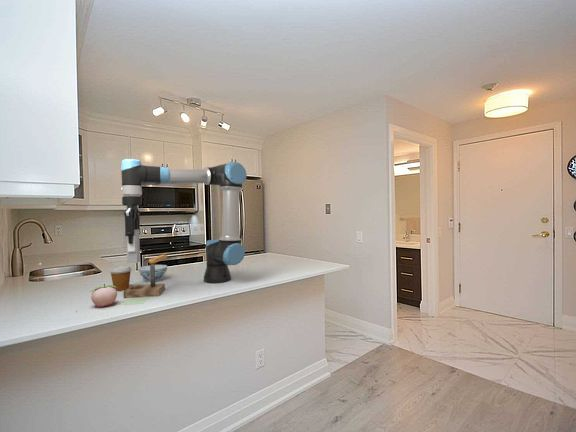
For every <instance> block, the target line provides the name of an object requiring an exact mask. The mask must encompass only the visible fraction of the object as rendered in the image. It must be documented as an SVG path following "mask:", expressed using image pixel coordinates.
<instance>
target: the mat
mask: <svg viewBox="0 0 576 432" xmlns="http://www.w3.org/2000/svg"><path fill="white" fill-rule="evenodd" d="M147 300H149V297H138V298H126V300H124V301H123V302H122V303H121V304H120V306H129V305H130V306H131V305H142V304H143V305H144V303H146V301H147Z"/></svg>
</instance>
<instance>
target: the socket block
mask: <svg viewBox="0 0 576 432" xmlns="http://www.w3.org/2000/svg"><path fill="white" fill-rule="evenodd" d="M149 265H150V278H151V282H150V283H146V284H131V285H129V288H128V289H126V290H125V291H122V293H123V299H134V298H150V297H160V296H161V295H162V294H163V292H164V291H165V290H166V284H165V283H164V282H163V283H162V282H160V283H156V282H155V265H156V263H149Z"/></svg>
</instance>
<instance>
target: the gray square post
mask: <svg viewBox="0 0 576 432" xmlns="http://www.w3.org/2000/svg"><path fill="white" fill-rule="evenodd" d="M134 236H135V251H132V252H128V236H125V239H126V241H125V242H126V264H138V263H140V262H141V249H140V245H141V244H140V235H139V229H138V230H134Z"/></svg>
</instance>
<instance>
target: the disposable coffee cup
mask: <svg viewBox="0 0 576 432" xmlns="http://www.w3.org/2000/svg"><path fill="white" fill-rule="evenodd" d="M132 270H133V269H132V268H131V265H119V266H114V267H110V270H109V273H110V275H111V276H110V277H111V280H112V281H111V282H112V286H116V287H117V288H115V287H114V288H115V289H116V291H117V292H124V291H125V290H126V289H128V288H129V287H130V281H131V280H130V279H131V271H132Z"/></svg>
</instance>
